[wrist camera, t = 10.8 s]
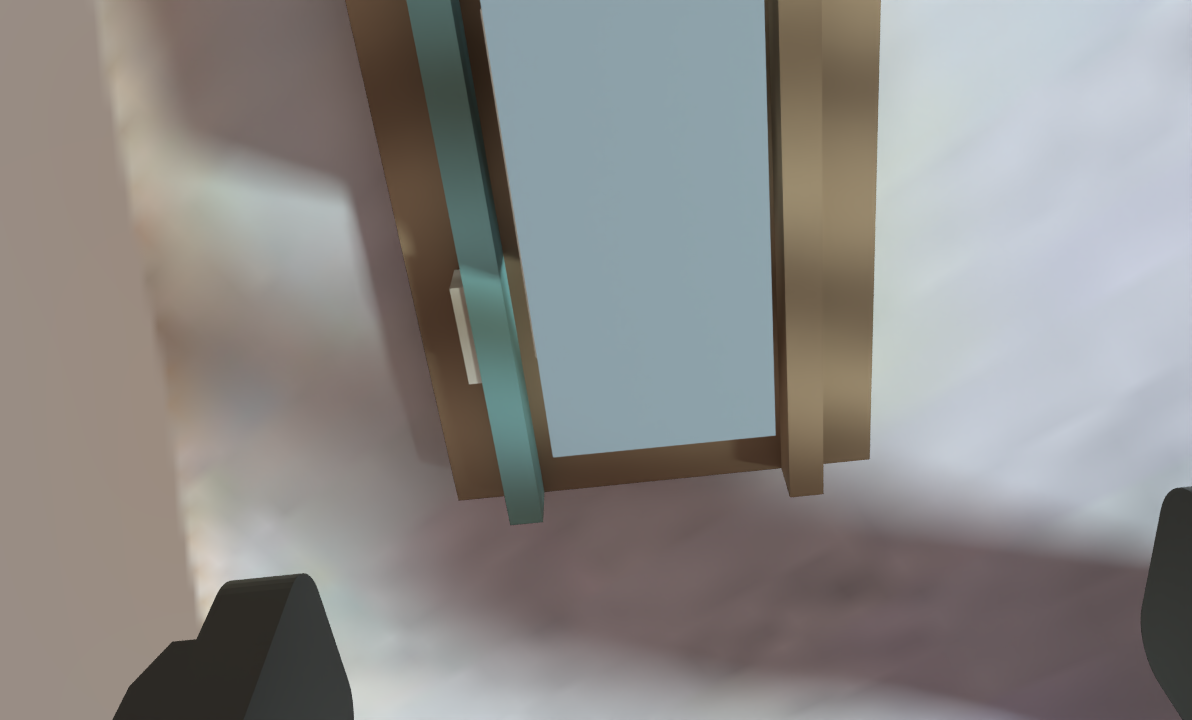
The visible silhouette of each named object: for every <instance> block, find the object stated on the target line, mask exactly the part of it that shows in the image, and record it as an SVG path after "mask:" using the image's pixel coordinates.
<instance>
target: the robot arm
mask: <svg viewBox="0 0 1192 720" xmlns="http://www.w3.org/2000/svg"><path fill="white" fill-rule="evenodd" d="M1141 633H1142V639H1143V644H1144V648H1145V652H1146V655H1147V659H1148V661H1149V664H1150V666H1151V669H1152V671H1153V673H1154V675H1155V677H1156V679H1157V681H1158V682H1159V684H1160V686H1161V687H1162V689H1163V690H1164V692H1165V693H1166V695H1167V696H1168V698H1169V700H1170V701H1171V703H1172V704H1173V706H1174V707H1175V709H1176V710H1177V712H1178V713H1179V715H1180V717H1181V718H1182V720H1192V486H1191V487H1181V488H1175V489H1173V490H1171V491H1170V492H1169V493H1168V494H1167V495H1166V497H1165V499H1164V501H1163V504H1162V507H1161V512H1160V517H1159V522H1158V527H1157V532H1156V537H1155V542H1154V547H1153V553H1152V558H1151V563H1150V568H1149V573H1148V578H1147V583H1146V589H1145V594H1144V599H1143V604H1142V610H1141ZM113 720H354V711H353V700H352V694H351V689H350V685H349V681H348V678H347V675H346V672H345V669H344V666H343V663H342V660H341V657H340V654H339V651H338V648H337V645H336V642H335V639H334V636H333V633H332V630H331V627H330V624H329V621H328V618H327V615H326V612H325V609H324V606H323V603H322V600H321V598H320V595H319V592H318V589H317V586H316V584H315V582H314V581H313V579H312V578H311V577H310V576H309V575H308V574H304V573H303V574H293V575H283V576H273V577H263V578H253V579H243V580H233V581H229V582H226V583H225V584H224V585H223V586H222V587H221V588H220V590H219V592H218V593H217V595H216V598H215V600H214V602H213V604H212V606H211V609H210V611H209V613H208V615H207V617H206V620H205V622H204V624H203V626H202V628H201V631H200V633H199V635H198V637H197V639H196V640H186V641H176V642H172V643H171V644H170V645H169V646H168V647H167V648H166V649H165V650H164V651H163V652H162V653H161V654H160V655H159V656H158V657H157V658H156V659H155V660H154V661H153V662H152V664H151V665H149V667H148V668H147V669H146V670H145V671H144V672H143V673H142V674H141V675H140V676H139V677H138V678H137V679H136V680H135V681H134V682H133V683H132V684H131V685H130V686H129V688H128V690H127V692H126V694H125V696H124V698H123V700H122V702H121V704H120V706H119V708H118V710H117V712H116V714H115V716H114V718H113Z"/></svg>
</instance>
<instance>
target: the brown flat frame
mask: <svg viewBox="0 0 1192 720" xmlns="http://www.w3.org/2000/svg"><path fill="white" fill-rule="evenodd" d="M345 2H346V6H347V10H348V15H349V19H350V24H351V28H352V33H353V37H354V41H355V46H356V50H357V55H358V59H359V63H360V68H361V72H362V77H363V81H364V85H365V90H366V94H367V99H368V103H369V107H370V112H371V116H372V121H373V125H374V130H375V134H376V138H377V143H378V147H379V152H380V156H381V160H382V165H383V169H384V174H385V178H386V182H387V187H388V191H389V196H390V200H391V204H392V209H393V213H394V218H395V222H396V227H397V231H398V235H399V240H400V244H401V249H402V253H403V257H404V262H405V266H406V271H407V275H408V279H409V284H410V288H411V293H412V297H413V301H414V306H415V310H416V315H417V319H418V324H419V328H420V332H421V337H422V341H423V346H424V350H425V354H426V359H427V363H428V368H429V372H430V376H431V381H432V385H433V390H434V394H435V398H436V403H437V407H438V412H439V416H440V421H441V425H442V429H443V434H444V438H445V443H446V447H447V451H448V456H449V460H450V465H451V469H452V473H453V478H454V482H455V487H456V491H457V495H458V500H459V501H460V500H470V499H480V498H490V497H500V496H505V501H506V506H507V511H508V516H509V521H510V525H518V524H528V523H538V522H543V510H544V492H549V491H559V490H569V489H579V488H589V487H599V486H609V485H619V484H629V483H639V482H648V481H658V480H668V479H678V478H688V477H698V476H708V475H718V474H728V473H738V472H748V471H758V470H767V469H777V468H782V472H783V475H784V479H785V482H786V485H787V489H788V492H789V496H790V497H799V496H809V495H819V494H823V464H827V463H837V462H847V461H857V460H867V459H870V419H871V378H872V337H873V296H874V255H875V214H876V173H877V132H878V91H879V50H880V9H881V0H764V10H765V48H766V87H767V125H768V163H769V201H770V240H771V278H772V316H773V354H774V393H775V431H776V436H766V437H755V438H745V439H735V440H725V441H715V442H705V443H695V444H685V445H674V446H664V447H654V448H644V449H634V450H624V451H614V452H604V453H593V454H583V455H573V456H563V457H553V454H552V448H551V442H550V435H549V429H548V423H547V417H546V410H545V404H544V398H543V392H542V385H541V379H540V373H539V366H538V360H537V358H536V357H535V350H534V344H533V338H532V332H531V325H530V319H529V313H528V307H527V301H526V294H525V288H524V282H523V276H522V269H521V263H520V257H519V251H518V244H517V238H516V232H515V226H514V219H513V213H512V207H511V201H510V194H509V188H508V182H507V176H506V169H505V163H504V157H503V151H502V144H501V138H500V132H499V126H498V120H497V113H496V107H495V101H494V95H493V88H492V82H491V76H490V70H489V63H488V57H487V51H486V45H485V38H484V32H483V26H482V20H481V13H480V9H481V3H480V0H345Z"/></svg>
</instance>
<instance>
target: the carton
mask: <svg viewBox="0 0 1192 720" xmlns="http://www.w3.org/2000/svg"><path fill="white" fill-rule="evenodd" d="M480 3H481V9H480V13H481V20H482V26H483V32H484V38H485V45H486V51H487V57H488V63H489V70H490V76H491V82H492V88H493V95H494V101H495V107H496V113H497V120H498V126H499V132H500V138H501V144H502V151H503V157H504V163H505V169H506V176H507V182H508V188H509V194H510V201H511V207H512V213H513V219H514V226H515V232H516V238H517V244H518V251H519V257H520V263H521V269H522V276H523V282H524V288H525V294H526V301H527V307H528V313H529V319H530V325H531V332H532V338H533V344H534V350H535V357H536V358H537V360H538V366H539V373H540V379H541V385H542V392H543V398H544V404H545V410H546V417H547V423H548V429H549V435H550V442H551V448H552V454H553V457H563V456H573V455H583V454H593V453H604V452H614V451H624V450H634V449H644V448H654V447H664V446H674V445H685V444H695V443H705V442H715V441H725V440H735V439H745V438H755V437H766V436H776V431H775V393H774V354H773V316H772V278H771V240H770V201H769V163H768V125H767V87H766V48H765V10H764V0H480Z"/></svg>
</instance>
